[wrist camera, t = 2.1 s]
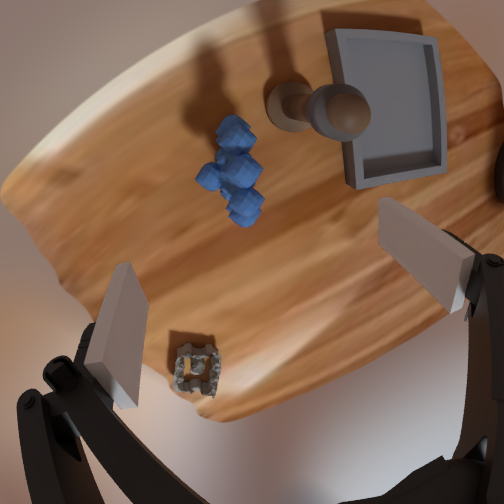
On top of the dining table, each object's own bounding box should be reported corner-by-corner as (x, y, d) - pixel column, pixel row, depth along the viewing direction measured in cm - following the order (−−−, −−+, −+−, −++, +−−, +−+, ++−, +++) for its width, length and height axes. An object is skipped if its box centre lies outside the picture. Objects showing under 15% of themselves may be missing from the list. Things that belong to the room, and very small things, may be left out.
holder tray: (423, 39, 30) (436, 37, 27) (434, 167, 40) (446, 172, 37) (324, 33, 29) (334, 28, 26) (345, 183, 39) (356, 190, 36)
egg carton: (213, 382, 53) (215, 400, 49) (172, 380, 51) (172, 397, 47) (223, 343, 48) (226, 361, 45) (176, 339, 46) (176, 357, 43)
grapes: (187, 118, 32) (182, 126, 21) (246, 109, 32) (270, 113, 22) (203, 212, 37) (207, 260, 27) (257, 203, 38) (282, 246, 27)
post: (310, 79, 32) (382, 73, 18) (317, 126, 35) (390, 148, 21) (261, 86, 31) (308, 76, 18) (270, 134, 34) (320, 159, 21)
